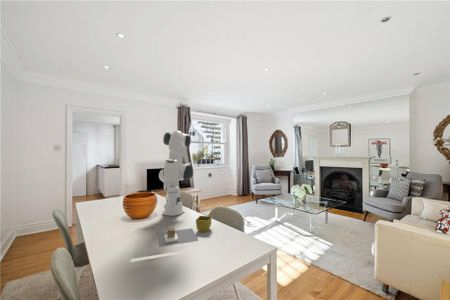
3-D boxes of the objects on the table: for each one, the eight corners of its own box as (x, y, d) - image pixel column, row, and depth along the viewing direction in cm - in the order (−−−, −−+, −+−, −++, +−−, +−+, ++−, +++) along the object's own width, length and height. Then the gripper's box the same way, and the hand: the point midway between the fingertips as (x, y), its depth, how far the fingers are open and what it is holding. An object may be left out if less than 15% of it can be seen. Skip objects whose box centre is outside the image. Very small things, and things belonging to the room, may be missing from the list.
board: (157, 234, 127) (157, 232, 127) (192, 230, 134) (192, 228, 134) (159, 248, 108) (159, 246, 108) (198, 242, 116) (198, 240, 116)
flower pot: (208, 234, 127) (208, 220, 127) (195, 233, 129) (195, 219, 129) (211, 229, 136) (211, 216, 136) (199, 228, 137) (199, 215, 138)
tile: (164, 234, 120) (165, 240, 112) (176, 233, 122) (177, 238, 115) (164, 237, 120) (165, 243, 112) (176, 235, 122) (177, 241, 115)
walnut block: (167, 235, 119) (167, 228, 119) (174, 234, 121) (174, 227, 121) (167, 238, 115) (167, 231, 116) (174, 237, 117) (174, 230, 117)
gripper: (164, 183, 127) (164, 205, 127) (167, 189, 108) (166, 215, 108) (174, 183, 129) (174, 204, 129) (178, 189, 110) (178, 214, 110)
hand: (171, 209), depth 118 cm, fingers open, 8 cm apart
